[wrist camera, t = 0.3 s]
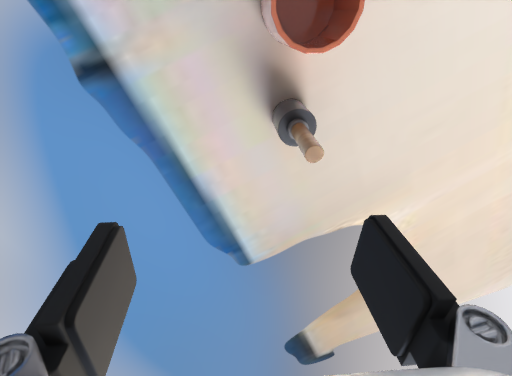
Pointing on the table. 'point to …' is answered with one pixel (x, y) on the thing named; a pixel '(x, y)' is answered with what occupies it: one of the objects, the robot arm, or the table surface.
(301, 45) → the tumbler
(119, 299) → the robot arm
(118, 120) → the table surface
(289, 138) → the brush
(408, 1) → the table surface
